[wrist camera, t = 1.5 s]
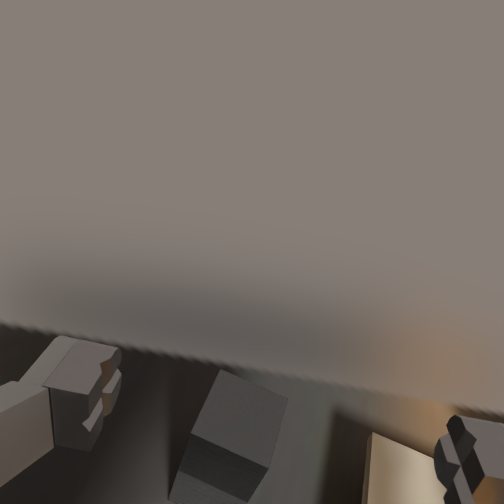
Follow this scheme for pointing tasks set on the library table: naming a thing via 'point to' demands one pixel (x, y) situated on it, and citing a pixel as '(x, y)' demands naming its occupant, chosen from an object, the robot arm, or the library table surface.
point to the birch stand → (399, 475)
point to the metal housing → (229, 443)
